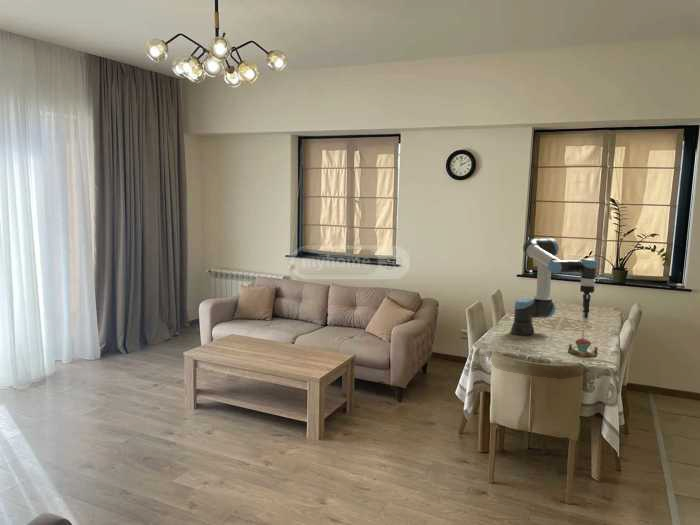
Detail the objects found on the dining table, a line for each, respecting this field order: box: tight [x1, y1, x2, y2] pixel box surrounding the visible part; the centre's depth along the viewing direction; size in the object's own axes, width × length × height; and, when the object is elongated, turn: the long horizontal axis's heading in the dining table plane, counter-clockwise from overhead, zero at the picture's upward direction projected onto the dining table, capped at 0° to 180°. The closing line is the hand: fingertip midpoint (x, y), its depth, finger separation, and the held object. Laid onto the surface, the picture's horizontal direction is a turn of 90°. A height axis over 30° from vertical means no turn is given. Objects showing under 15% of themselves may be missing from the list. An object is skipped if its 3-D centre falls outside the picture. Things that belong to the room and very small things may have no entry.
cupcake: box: [575, 330, 592, 352], centre depth 312 cm, size 9×8×12 cm
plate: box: [567, 343, 599, 358], centre depth 313 cm, size 16×16×4 cm
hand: (584, 320), depth 311 cm, fingers open, 13 cm apart
